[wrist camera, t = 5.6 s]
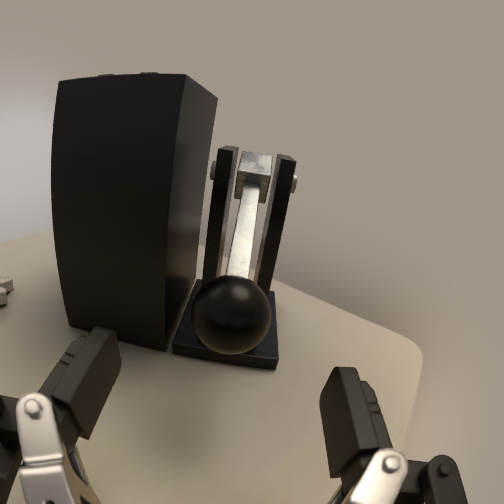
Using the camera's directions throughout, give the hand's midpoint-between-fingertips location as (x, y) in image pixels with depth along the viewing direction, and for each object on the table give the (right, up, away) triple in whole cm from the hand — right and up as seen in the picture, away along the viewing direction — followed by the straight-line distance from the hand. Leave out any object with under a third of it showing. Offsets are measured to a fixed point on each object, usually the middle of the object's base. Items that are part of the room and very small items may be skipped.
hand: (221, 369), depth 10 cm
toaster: (-10, 0, +16) cm, 19 cm away
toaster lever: (0, +4, +8) cm, 9 cm away
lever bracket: (-1, -2, +16) cm, 16 cm away
